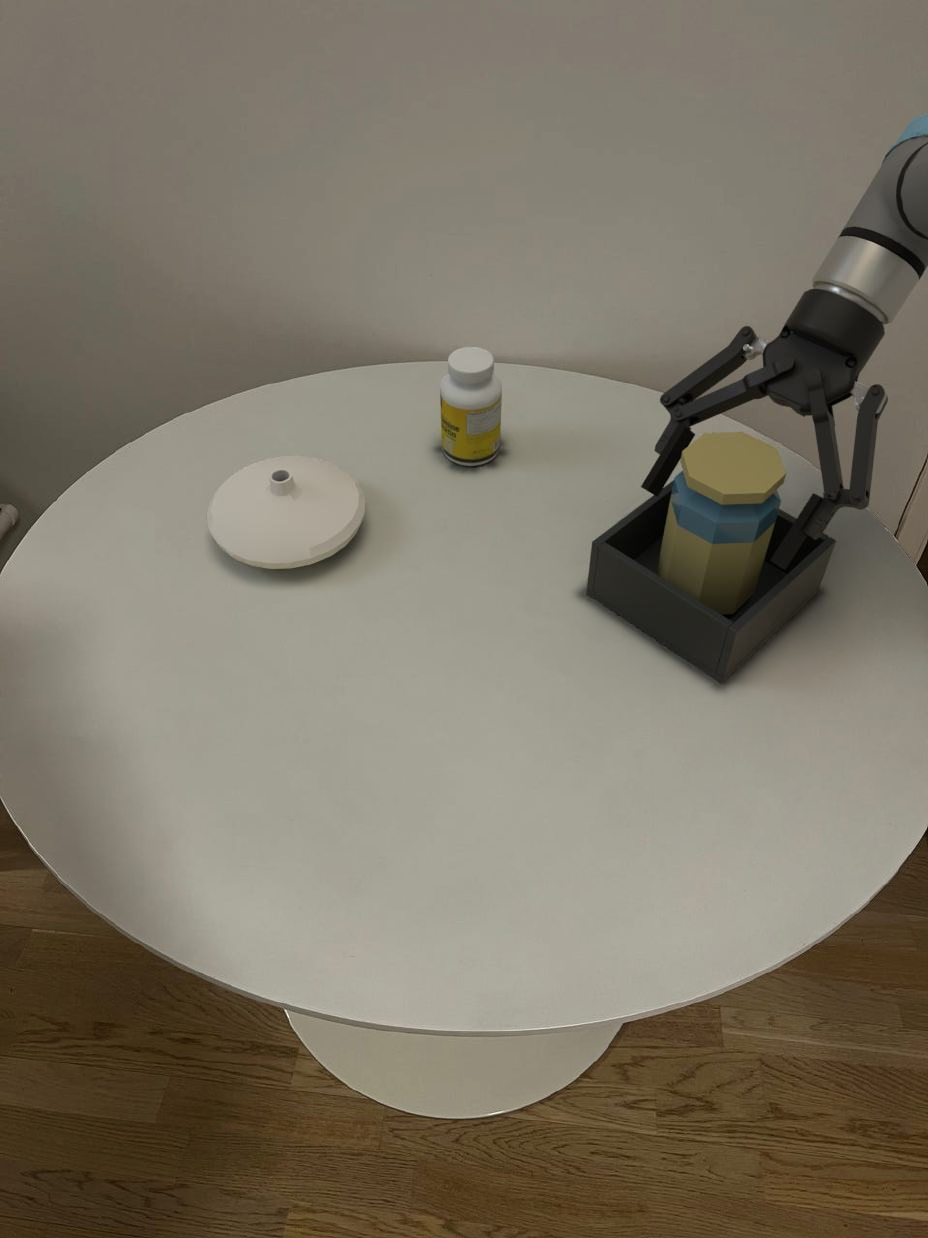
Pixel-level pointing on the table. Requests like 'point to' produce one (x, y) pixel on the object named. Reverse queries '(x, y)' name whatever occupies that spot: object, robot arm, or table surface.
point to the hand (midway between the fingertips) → (710, 527)
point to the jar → (721, 518)
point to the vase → (286, 512)
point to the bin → (678, 618)
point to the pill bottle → (470, 407)
